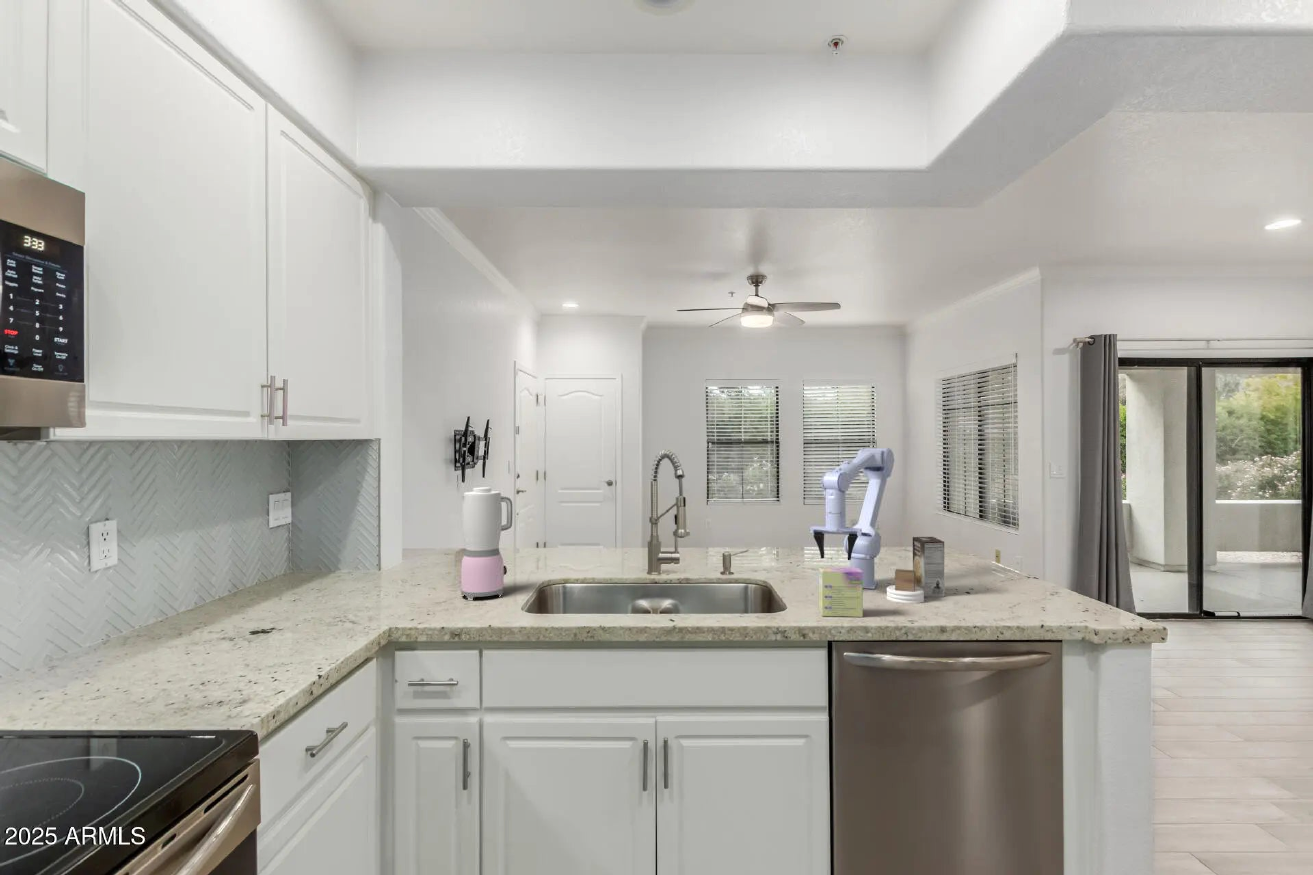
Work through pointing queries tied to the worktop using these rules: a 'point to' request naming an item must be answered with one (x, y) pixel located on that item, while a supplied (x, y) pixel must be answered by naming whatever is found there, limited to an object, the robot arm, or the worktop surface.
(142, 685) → the worktop surface
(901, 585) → the walnut block
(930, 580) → the coffee box
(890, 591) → the white round dish
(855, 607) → the box
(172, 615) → the worktop surface
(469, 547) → the blender
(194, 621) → the worktop surface
